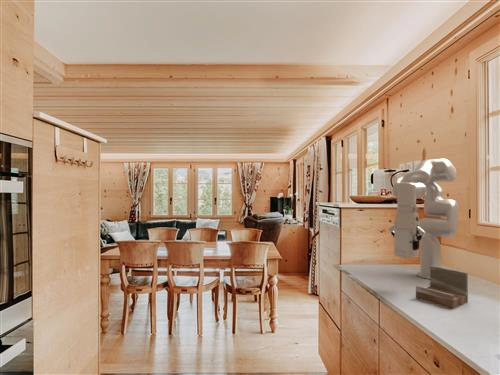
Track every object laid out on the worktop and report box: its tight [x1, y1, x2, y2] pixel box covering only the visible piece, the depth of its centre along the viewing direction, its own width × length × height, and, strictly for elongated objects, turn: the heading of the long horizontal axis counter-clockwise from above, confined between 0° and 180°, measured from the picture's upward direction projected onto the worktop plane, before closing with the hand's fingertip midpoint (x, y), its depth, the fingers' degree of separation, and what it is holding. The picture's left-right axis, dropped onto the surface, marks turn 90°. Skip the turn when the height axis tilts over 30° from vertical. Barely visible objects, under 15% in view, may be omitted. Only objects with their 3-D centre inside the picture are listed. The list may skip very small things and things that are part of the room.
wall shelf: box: [415, 266, 469, 309], centre depth 128 cm, size 14×14×12 cm
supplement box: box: [393, 229, 420, 260], centre depth 138 cm, size 7×7×13 cm
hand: (406, 248), depth 138 cm, fingers closed on supplement box, 7 cm apart
